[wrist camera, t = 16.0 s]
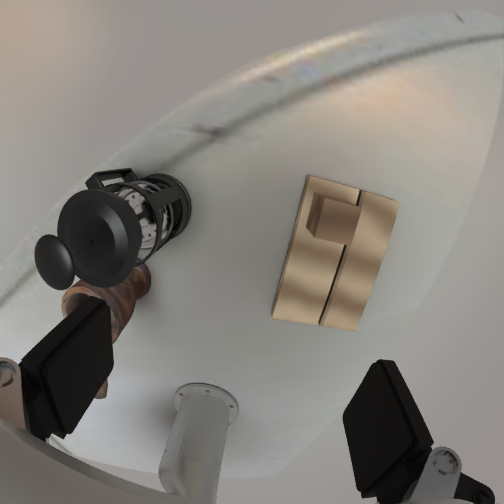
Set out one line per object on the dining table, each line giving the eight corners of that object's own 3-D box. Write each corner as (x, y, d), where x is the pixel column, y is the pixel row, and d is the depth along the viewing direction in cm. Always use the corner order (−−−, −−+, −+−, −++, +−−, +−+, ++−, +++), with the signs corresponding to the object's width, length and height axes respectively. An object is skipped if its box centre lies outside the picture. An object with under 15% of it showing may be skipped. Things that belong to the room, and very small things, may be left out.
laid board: (352, 325, 42) (354, 331, 41) (317, 319, 42) (319, 325, 41) (395, 200, 36) (400, 202, 35) (358, 189, 36) (362, 190, 34)
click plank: (315, 319, 42) (317, 325, 41) (271, 312, 42) (272, 318, 40) (355, 188, 36) (360, 189, 35) (307, 175, 35) (309, 175, 34)
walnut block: (338, 234, 36) (350, 246, 32) (305, 226, 36) (314, 237, 31) (347, 200, 35) (362, 208, 30) (314, 192, 35) (325, 198, 30)
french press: (207, 221, 39) (134, 300, 17) (156, 255, 41) (63, 346, 19) (161, 150, 36) (43, 149, 14) (113, 189, 38) (-10, 227, 16)
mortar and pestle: (180, 293, 42) (127, 383, 23) (149, 324, 44) (94, 410, 25) (125, 239, 40) (39, 298, 21) (99, 275, 42) (21, 340, 23)
